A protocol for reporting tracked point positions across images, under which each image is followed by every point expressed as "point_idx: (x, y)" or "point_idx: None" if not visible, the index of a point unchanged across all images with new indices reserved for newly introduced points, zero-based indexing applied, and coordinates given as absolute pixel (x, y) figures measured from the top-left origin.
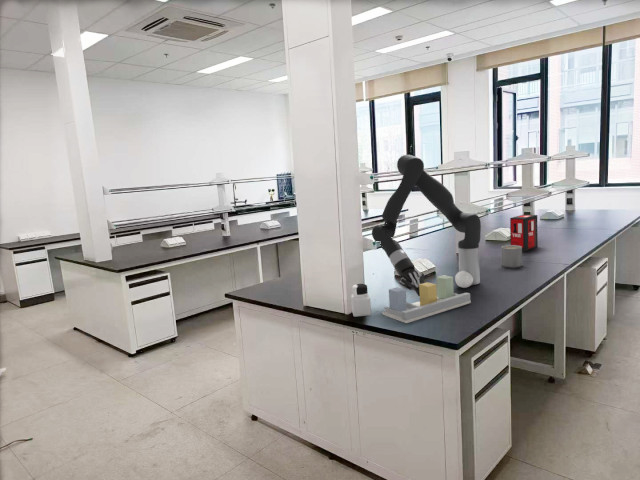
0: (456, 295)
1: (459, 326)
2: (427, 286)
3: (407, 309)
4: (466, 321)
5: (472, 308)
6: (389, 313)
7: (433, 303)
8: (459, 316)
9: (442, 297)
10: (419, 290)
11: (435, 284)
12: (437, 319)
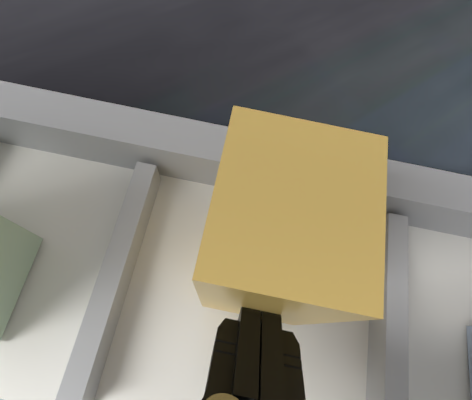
0: (39, 123)
1: (374, 13)
2: (383, 148)
3: (413, 370)
4: (301, 15)
5: (97, 66)
6: None
7: None
8: (259, 63)
9: (19, 277)
10: (344, 320)
11: (240, 113)
12: (372, 125)
